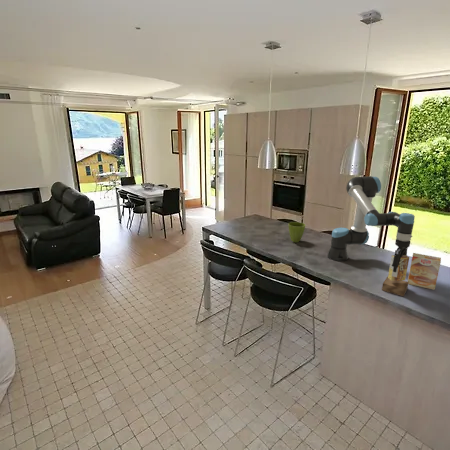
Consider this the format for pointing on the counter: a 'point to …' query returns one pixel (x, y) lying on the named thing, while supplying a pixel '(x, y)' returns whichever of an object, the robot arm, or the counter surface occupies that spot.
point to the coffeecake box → (424, 270)
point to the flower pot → (296, 231)
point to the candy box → (401, 270)
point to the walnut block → (395, 286)
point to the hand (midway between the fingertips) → (397, 274)
